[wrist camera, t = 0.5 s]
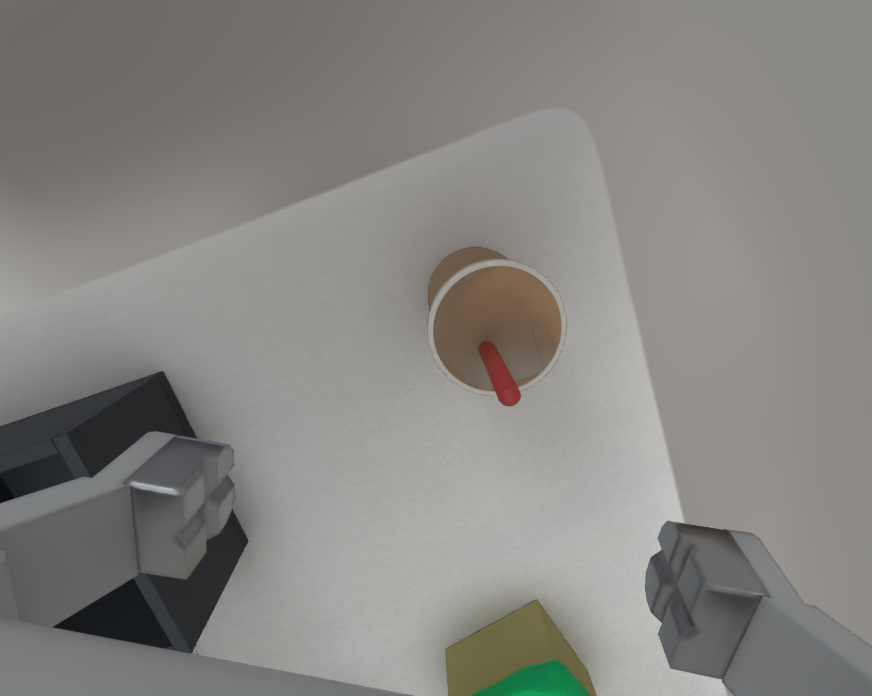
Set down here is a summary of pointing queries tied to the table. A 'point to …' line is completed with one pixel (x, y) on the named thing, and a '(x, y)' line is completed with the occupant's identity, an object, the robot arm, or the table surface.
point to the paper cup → (493, 323)
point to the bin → (85, 457)
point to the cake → (517, 660)
